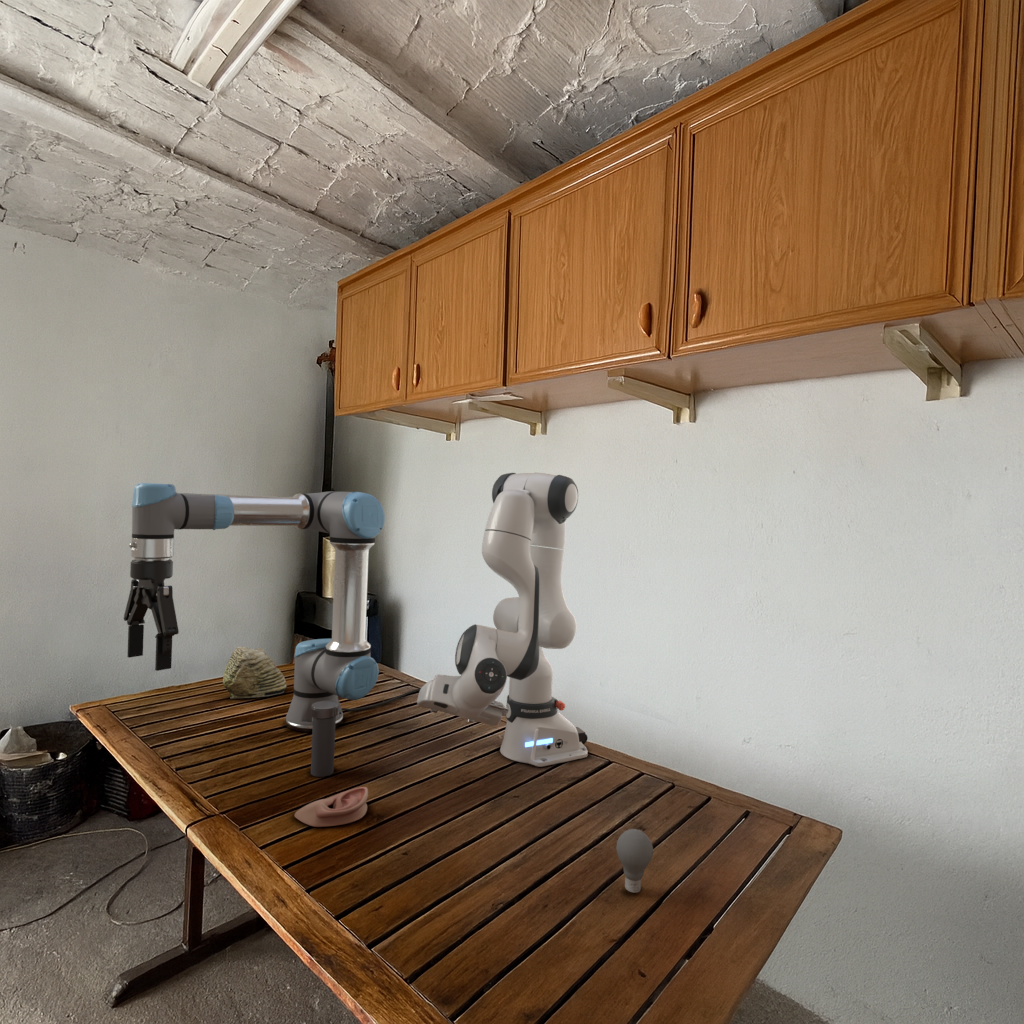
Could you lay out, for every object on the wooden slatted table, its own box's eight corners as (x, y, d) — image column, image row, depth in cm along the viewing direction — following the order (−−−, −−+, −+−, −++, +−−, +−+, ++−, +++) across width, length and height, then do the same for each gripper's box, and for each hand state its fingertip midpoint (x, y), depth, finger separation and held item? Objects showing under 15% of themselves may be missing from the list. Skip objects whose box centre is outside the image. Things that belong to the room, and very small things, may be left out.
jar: (333, 766, 149) (335, 702, 148) (333, 776, 144) (336, 709, 144) (310, 768, 147) (313, 703, 147) (310, 777, 142) (313, 710, 142)
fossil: (218, 695, 195) (220, 647, 195) (278, 685, 208) (279, 640, 207) (228, 703, 189) (230, 653, 188) (289, 692, 201) (290, 645, 201)
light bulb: (610, 879, 108) (613, 822, 108) (644, 879, 109) (647, 822, 109) (619, 902, 102) (622, 840, 102) (655, 901, 103) (658, 840, 103)
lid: (337, 709, 149) (337, 700, 149) (338, 718, 143) (338, 708, 143) (311, 710, 147) (311, 701, 147) (310, 719, 142) (311, 709, 142)
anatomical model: (286, 802, 122) (316, 777, 134) (285, 822, 122) (315, 795, 134) (350, 811, 120) (375, 785, 131) (349, 832, 120) (374, 804, 131)
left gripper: (108, 554, 134) (104, 654, 134) (159, 565, 118) (155, 678, 119) (146, 552, 140) (143, 648, 140) (199, 563, 124) (195, 671, 124)
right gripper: (513, 696, 147) (494, 712, 158) (429, 672, 143) (415, 690, 154) (509, 722, 144) (489, 738, 154) (423, 698, 140) (409, 716, 150)
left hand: (148, 662), depth 129 cm, fingers open, 13 cm apart
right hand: (452, 714), depth 154 cm, fingers open, 8 cm apart
